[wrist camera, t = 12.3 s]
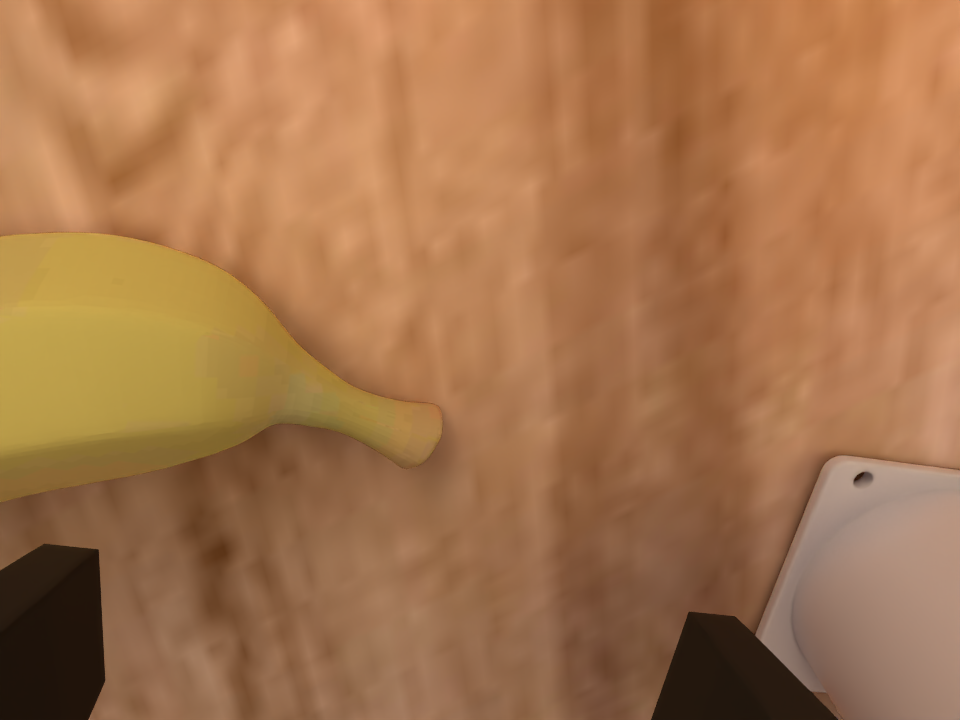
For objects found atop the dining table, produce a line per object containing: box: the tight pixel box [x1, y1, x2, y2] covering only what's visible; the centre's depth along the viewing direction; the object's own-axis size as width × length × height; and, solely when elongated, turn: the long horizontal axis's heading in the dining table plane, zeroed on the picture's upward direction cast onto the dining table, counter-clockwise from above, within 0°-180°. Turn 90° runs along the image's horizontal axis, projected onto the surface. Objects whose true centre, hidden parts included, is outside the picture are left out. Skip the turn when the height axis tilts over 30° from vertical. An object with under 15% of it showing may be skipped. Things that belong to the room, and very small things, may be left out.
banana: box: [0, 232, 443, 503], centre depth 17 cm, size 14×6×20 cm
